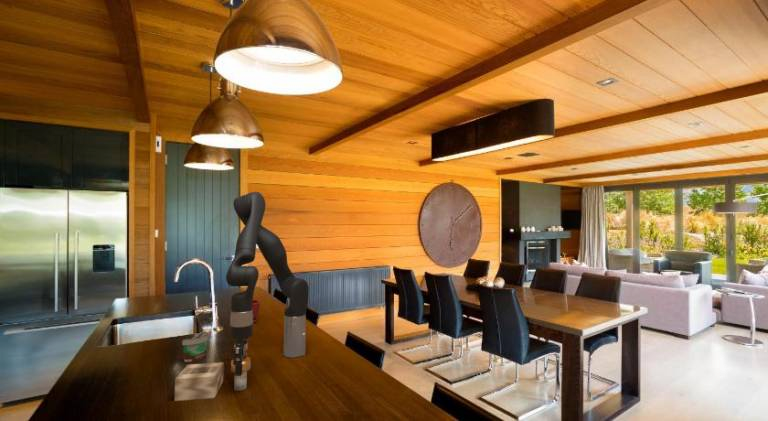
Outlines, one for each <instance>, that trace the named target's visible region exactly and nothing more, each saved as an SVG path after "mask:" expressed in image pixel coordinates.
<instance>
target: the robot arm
mask: <svg viewBox="0 0 768 421" xmlns="http://www.w3.org/2000/svg"><path fill="white" fill-rule="evenodd" d="M232 204H233V209H234V211H235V213H236V215H237V217H238V219H240V221H241V222H242V224H243V225H244V227H243V228H242V230H241V231H240V234H239V235H238V237H237V240H236V243H235V244H236V245H235V250H234V251H235V252H234V256H233V260H232V262H231V263H230V265H229V267H228V270H227V272H226V276H225V280H226V283H227V284H228V286H229V287H246V290H243V291H241V292H235V293H234V294H232V296H231V301H230V302H231V305H230V307H231V308H230V317H229V320H230V322H229V338H230V339H232V340H235V343H234V345H233V348H232V351H233V352H232V353H233V355H232V356H233V357H232V358H233V359H232V360H233V365H235V372H234V376H241V375H242V364H243V357H248V352H249V348H248V347H249V338H251V337H252V336H253V334H254V323H253V300H254V293H255V289H256V285H257V283H258V279H259V276H260V274H259V269H258V268H257V267H256V266H254V265H248V264H251V263H252V262H254V261H255V258H256V253H257V252H256V251H257V247H258V250H259V251H260V253H261V255H262V257H263V259H264V260H265V262H266V263H267V265H268V266H269V268H270V270H271V271H272V273H273V275H274V277H275V279H276V282H277V284H278V286H279V288H280V290H281V293H282V294H283V295H284V296H285V297H286V298H288V299H289V305H288V306H287V307H285V308H284V311H283V312H284V315H283V316H284V317H283V318H284V319H283V325H284V326H283V356H284V357H286V358H298V357H302V356H303V357H304V356H306V337H307V336H306V334H307V333H306V328H307V327H306V319H307V318H306V317H307V315H306V314H307V309H308V306H309V295H310V294H309V293H310V291H309V290H310V289H309V283H308V282H307V281H306V280H305V279H304V278H300V277H299V278H298V277H295V275H294V274H293V272H292V271H291V269H290V267H289V264H288V256H287V255H288V254H287V250H286V248H285V246H284V244H283V242H282V240H281V239H280V237H279V236H278V235H277V234H275V233H274V232H273V231H271V230H270V229H268V228H266V227H265V226H263V225H262V222H263V218H264V215H265V212H266V205H267V204H266V200H265V197H264V196H263V195H262V194H261V193H260V192H259V191H251V192H249V193H247V194H243V195H240V196H237V197H236V198H234V199H233V203H232ZM246 264H247V265H246ZM237 358H239V359H240V361H237Z"/></svg>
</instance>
